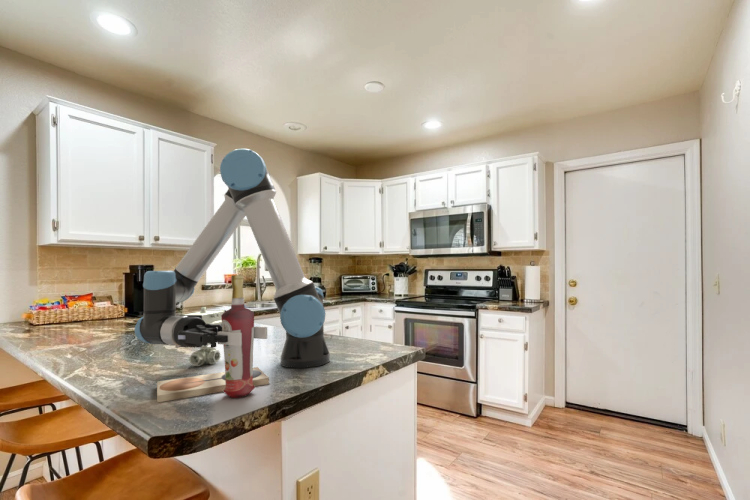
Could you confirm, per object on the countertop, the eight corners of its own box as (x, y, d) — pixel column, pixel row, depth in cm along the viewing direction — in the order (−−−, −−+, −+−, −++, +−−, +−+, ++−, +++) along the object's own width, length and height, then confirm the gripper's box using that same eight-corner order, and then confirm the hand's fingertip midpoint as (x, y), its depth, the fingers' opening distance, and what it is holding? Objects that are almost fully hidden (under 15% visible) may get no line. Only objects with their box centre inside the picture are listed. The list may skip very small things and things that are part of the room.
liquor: (262, 393, 91) (259, 274, 92) (234, 402, 86) (232, 276, 86) (244, 387, 96) (241, 274, 97) (216, 396, 90) (214, 276, 91)
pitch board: (257, 372, 111) (257, 356, 111) (269, 383, 99) (268, 365, 99) (157, 387, 98) (157, 369, 98) (157, 402, 87) (157, 382, 87)
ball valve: (199, 371, 113) (199, 310, 114) (173, 370, 115) (173, 310, 116) (233, 357, 131) (233, 304, 132) (211, 356, 132) (210, 304, 133)
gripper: (217, 339, 108) (282, 344, 98) (146, 354, 89) (218, 363, 79) (217, 311, 108) (282, 314, 98) (146, 322, 90) (218, 326, 80)
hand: (253, 336), depth 89 cm, fingers open, 8 cm apart
